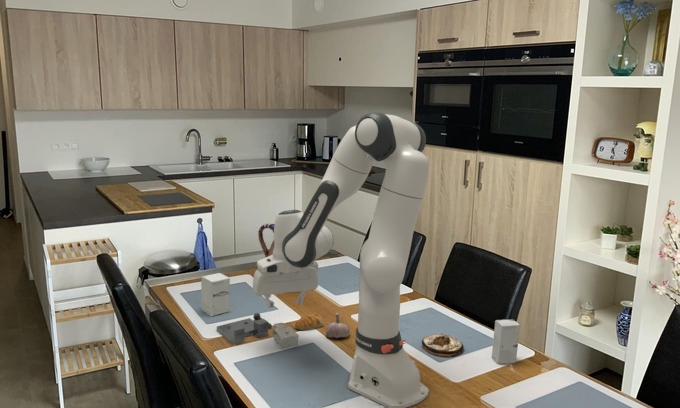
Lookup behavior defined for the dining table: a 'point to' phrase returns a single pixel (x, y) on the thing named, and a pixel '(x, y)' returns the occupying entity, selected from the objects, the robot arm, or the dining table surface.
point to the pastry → (309, 322)
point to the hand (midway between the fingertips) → (285, 305)
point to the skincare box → (505, 341)
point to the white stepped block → (285, 336)
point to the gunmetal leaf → (243, 330)
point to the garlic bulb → (337, 329)
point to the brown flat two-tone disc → (442, 345)
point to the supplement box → (215, 294)
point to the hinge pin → (257, 317)
